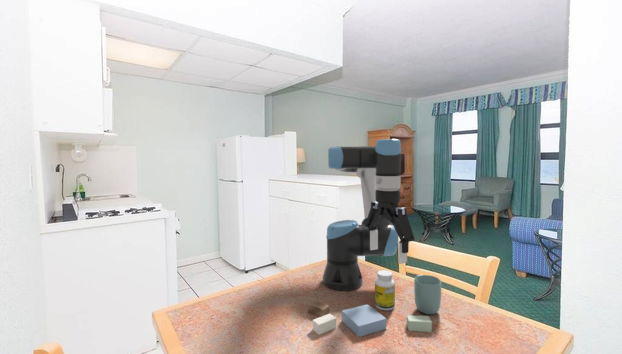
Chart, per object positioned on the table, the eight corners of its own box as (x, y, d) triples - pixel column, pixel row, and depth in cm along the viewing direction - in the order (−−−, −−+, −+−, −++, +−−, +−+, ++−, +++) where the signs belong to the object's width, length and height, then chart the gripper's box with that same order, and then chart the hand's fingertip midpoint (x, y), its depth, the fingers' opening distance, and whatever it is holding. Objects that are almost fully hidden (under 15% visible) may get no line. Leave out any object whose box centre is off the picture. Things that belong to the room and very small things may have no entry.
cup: (443, 319, 88) (444, 285, 87) (415, 316, 90) (416, 284, 89) (438, 306, 96) (438, 275, 95) (412, 304, 97) (412, 273, 97)
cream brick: (318, 335, 81) (318, 324, 81) (312, 330, 84) (312, 319, 84) (336, 328, 85) (336, 318, 84) (329, 323, 87) (329, 313, 87)
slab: (342, 320, 88) (341, 310, 88) (367, 313, 92) (367, 304, 91) (358, 337, 80) (358, 326, 80) (386, 328, 83) (386, 318, 83)
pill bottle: (371, 303, 98) (371, 270, 98) (388, 300, 100) (388, 268, 99) (380, 312, 92) (380, 277, 92) (398, 309, 94) (398, 275, 93)
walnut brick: (308, 313, 93) (308, 303, 93) (314, 309, 95) (313, 300, 95) (323, 319, 89) (323, 309, 89) (329, 315, 92) (329, 305, 91)
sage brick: (409, 331, 82) (409, 321, 82) (406, 325, 85) (406, 315, 85) (431, 332, 82) (431, 321, 82) (428, 326, 85) (428, 316, 85)
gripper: (354, 185, 102) (355, 246, 104) (407, 195, 80) (406, 272, 82) (372, 184, 106) (372, 243, 108) (428, 193, 83) (426, 266, 85)
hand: (387, 255), depth 95 cm, fingers open, 13 cm apart
